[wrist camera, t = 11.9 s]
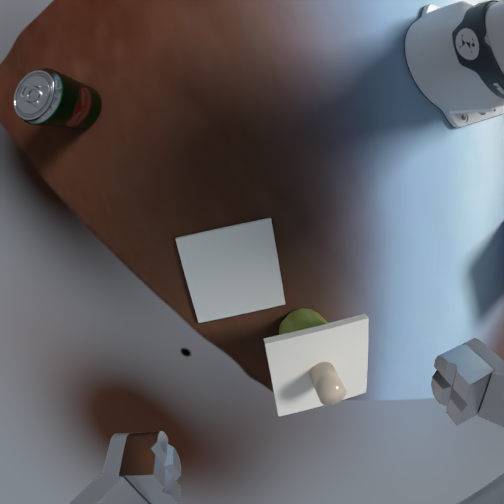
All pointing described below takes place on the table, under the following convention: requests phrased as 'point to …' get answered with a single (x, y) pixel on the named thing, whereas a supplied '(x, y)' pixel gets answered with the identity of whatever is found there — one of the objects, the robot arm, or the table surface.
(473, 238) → the table surface
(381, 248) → the table surface
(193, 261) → the mat
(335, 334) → the lid
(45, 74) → the soda can
